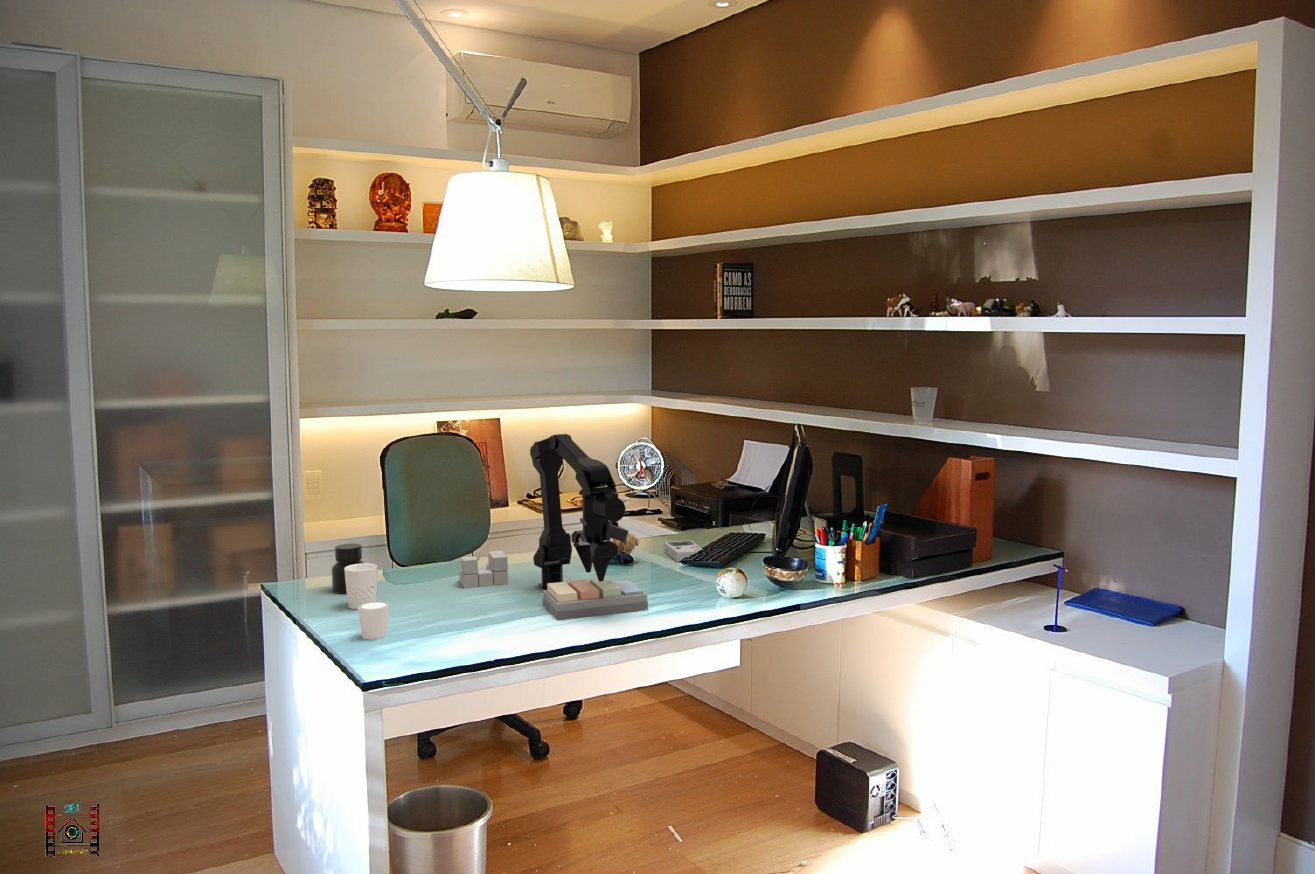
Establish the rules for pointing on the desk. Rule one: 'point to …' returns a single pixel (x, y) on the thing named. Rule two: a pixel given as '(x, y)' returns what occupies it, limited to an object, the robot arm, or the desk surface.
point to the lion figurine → (627, 543)
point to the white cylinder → (374, 619)
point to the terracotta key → (584, 590)
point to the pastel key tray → (594, 606)
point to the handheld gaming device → (681, 549)
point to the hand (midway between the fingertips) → (594, 576)
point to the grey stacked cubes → (484, 571)
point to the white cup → (361, 584)
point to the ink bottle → (344, 564)
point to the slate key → (628, 588)
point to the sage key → (606, 588)
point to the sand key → (561, 592)
